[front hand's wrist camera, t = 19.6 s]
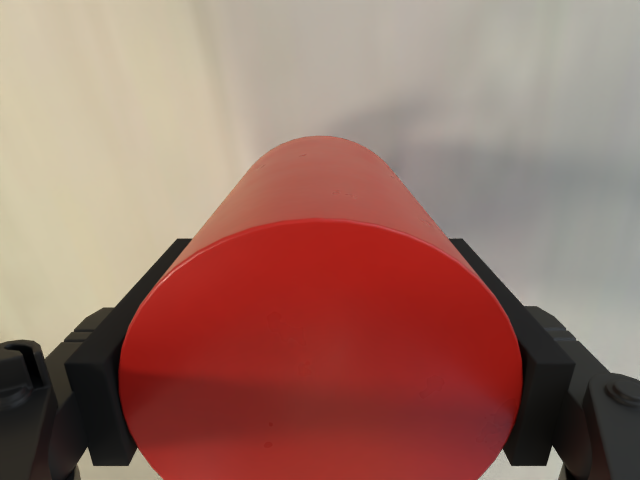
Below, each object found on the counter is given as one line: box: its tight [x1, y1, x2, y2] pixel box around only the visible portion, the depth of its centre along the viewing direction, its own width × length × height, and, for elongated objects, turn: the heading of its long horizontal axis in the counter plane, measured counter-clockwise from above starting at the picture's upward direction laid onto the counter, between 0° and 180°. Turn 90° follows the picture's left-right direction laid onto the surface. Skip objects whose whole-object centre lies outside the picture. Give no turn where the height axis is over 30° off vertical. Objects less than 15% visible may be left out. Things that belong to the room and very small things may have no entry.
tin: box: [118, 136, 523, 480], centre depth 13 cm, size 8×8×11 cm
